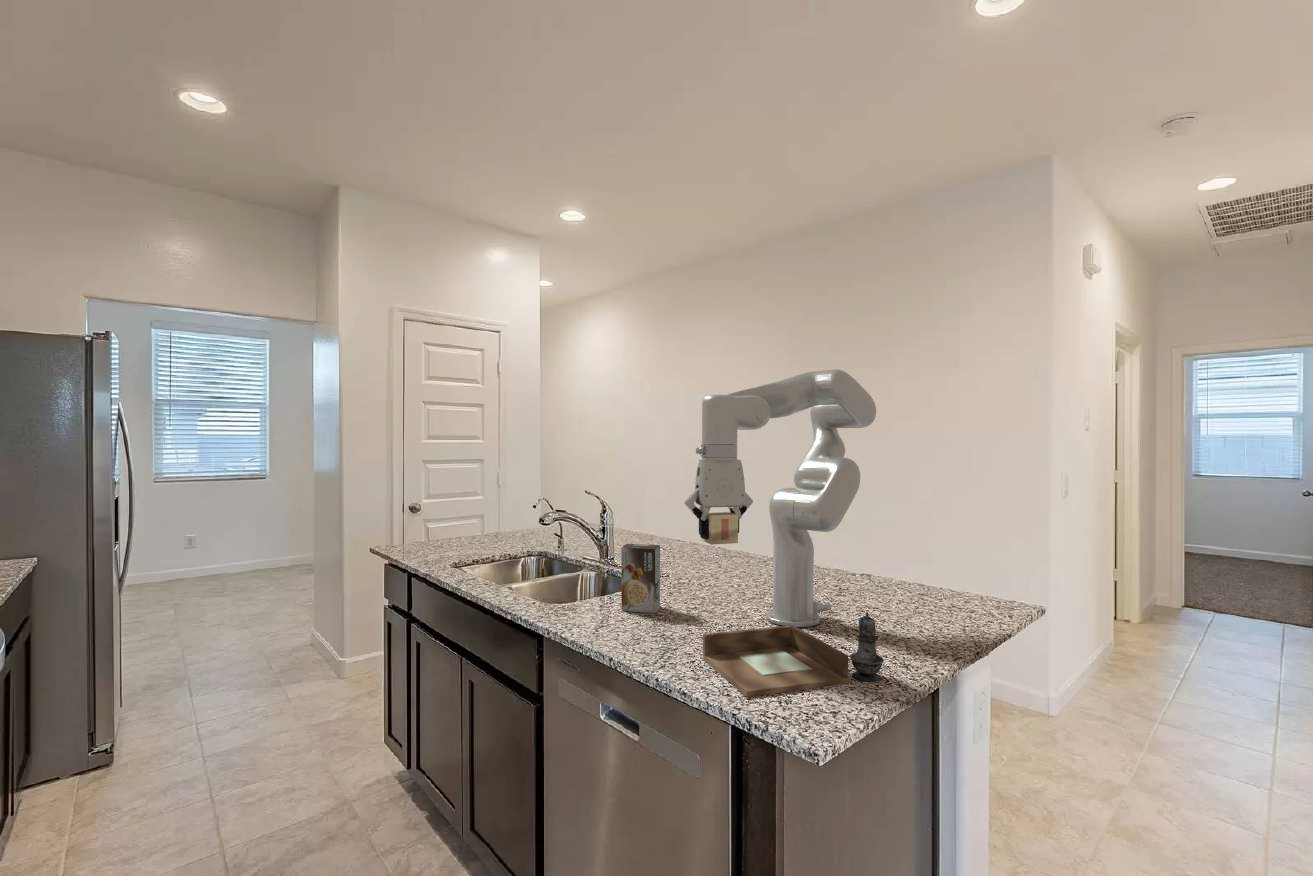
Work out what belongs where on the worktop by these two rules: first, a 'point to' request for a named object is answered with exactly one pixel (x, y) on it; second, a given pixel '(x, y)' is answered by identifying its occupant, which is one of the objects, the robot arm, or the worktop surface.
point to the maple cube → (722, 528)
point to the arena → (774, 660)
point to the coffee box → (640, 578)
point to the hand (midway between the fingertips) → (719, 537)
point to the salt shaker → (866, 653)
